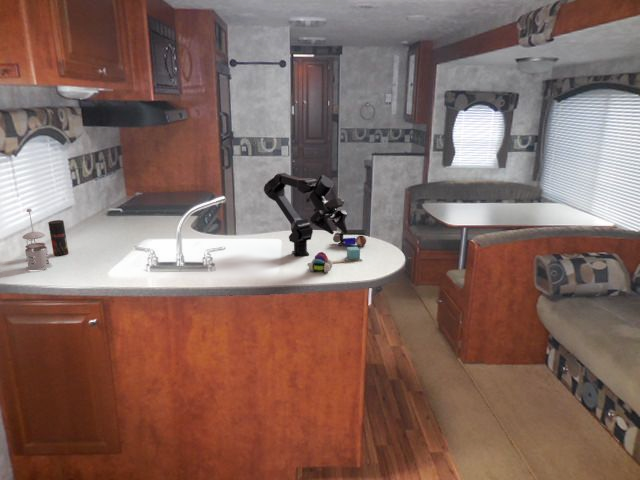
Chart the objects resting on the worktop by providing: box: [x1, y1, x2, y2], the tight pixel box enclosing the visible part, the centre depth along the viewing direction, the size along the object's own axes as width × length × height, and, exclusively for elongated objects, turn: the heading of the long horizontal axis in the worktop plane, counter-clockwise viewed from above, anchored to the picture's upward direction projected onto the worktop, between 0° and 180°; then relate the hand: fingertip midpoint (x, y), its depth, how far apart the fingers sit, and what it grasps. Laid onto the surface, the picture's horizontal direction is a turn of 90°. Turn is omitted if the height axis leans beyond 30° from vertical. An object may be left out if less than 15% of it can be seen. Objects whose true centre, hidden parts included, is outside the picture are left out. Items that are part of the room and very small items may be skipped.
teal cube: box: [346, 246, 361, 260], centre depth 215 cm, size 4×4×4 cm
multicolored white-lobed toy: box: [308, 251, 334, 273], centre depth 201 cm, size 8×10×7 cm
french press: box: [21, 208, 53, 271], centre depth 204 cm, size 10×12×25 cm
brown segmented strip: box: [307, 258, 363, 266], centre depth 211 cm, size 2×23×1 cm, turn 104°
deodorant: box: [48, 219, 69, 257], centre depth 221 cm, size 6×6×15 cm
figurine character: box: [332, 229, 367, 247], centre depth 233 cm, size 7×8×15 cm
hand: (339, 233), depth 200 cm, fingers open, 9 cm apart
